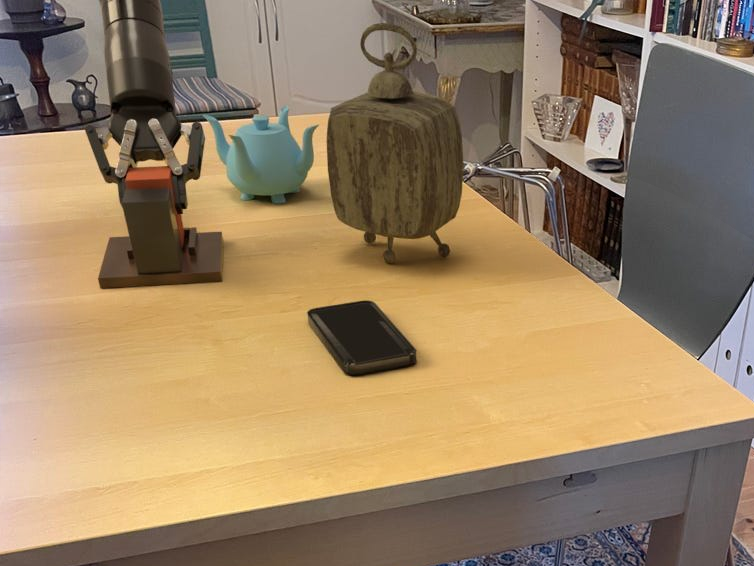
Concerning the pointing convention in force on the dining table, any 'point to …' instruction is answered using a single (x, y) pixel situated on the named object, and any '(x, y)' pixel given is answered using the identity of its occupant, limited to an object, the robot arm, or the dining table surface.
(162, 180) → the terracotta block
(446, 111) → the tabletop clock
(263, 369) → the dining table surface
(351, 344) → the phone
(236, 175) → the teapot
